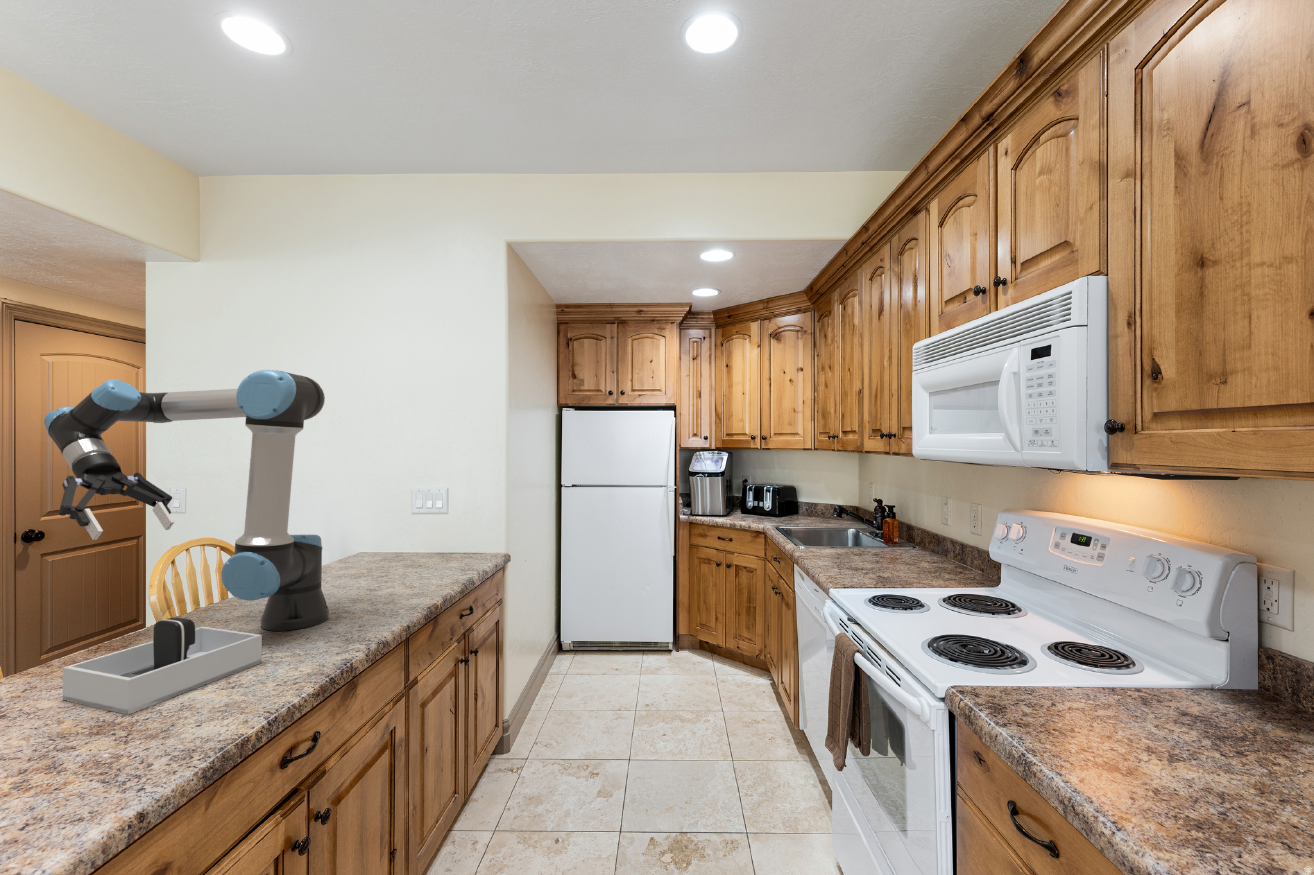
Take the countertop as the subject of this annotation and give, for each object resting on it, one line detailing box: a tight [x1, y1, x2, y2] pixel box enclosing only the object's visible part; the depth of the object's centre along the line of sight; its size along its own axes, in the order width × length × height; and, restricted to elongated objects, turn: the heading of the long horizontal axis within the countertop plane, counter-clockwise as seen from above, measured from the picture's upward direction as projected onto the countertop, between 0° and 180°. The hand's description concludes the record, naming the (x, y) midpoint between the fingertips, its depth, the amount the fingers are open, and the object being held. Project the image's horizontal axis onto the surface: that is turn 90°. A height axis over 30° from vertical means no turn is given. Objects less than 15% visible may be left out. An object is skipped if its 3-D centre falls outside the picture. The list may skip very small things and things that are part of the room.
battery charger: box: [152, 616, 196, 670], centre depth 112 cm, size 7×4×11 cm, turn 75°
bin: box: [62, 626, 263, 715], centre depth 112 cm, size 24×18×6 cm
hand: (136, 530), depth 126 cm, fingers open, 13 cm apart
